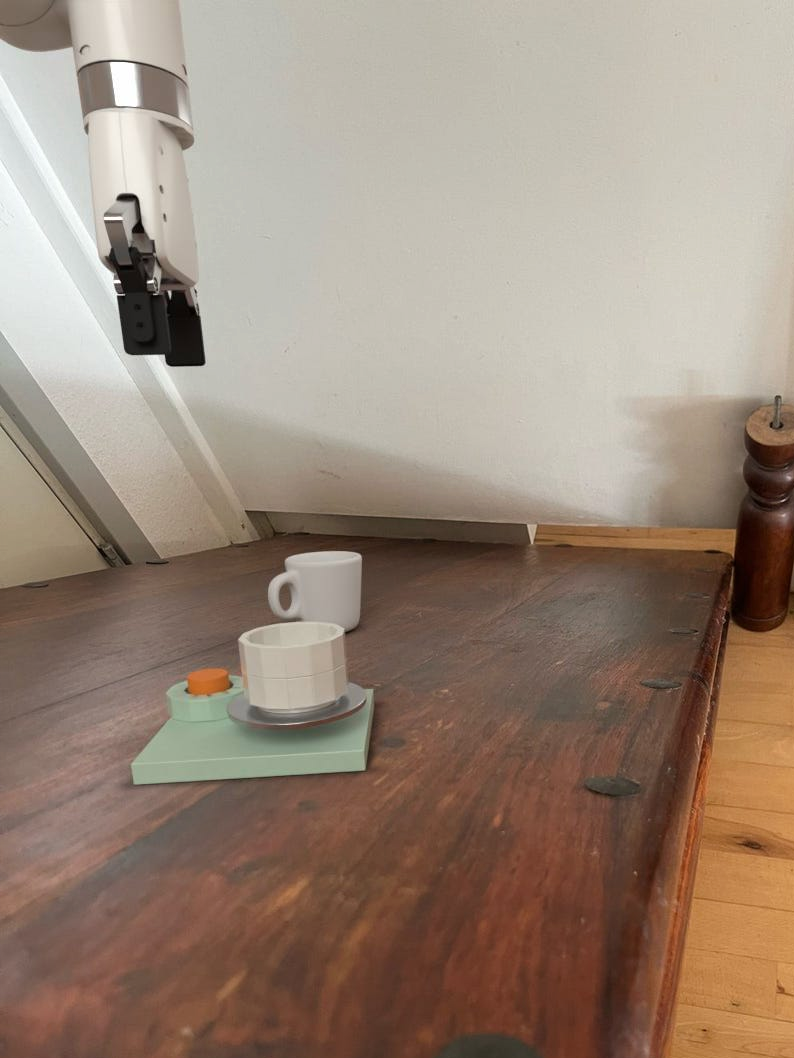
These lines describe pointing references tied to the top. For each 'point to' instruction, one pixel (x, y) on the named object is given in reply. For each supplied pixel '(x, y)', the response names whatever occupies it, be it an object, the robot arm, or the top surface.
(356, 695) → the platter
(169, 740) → the scale
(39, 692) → the top surface
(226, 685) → the power button
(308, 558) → the cup
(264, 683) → the bowl
